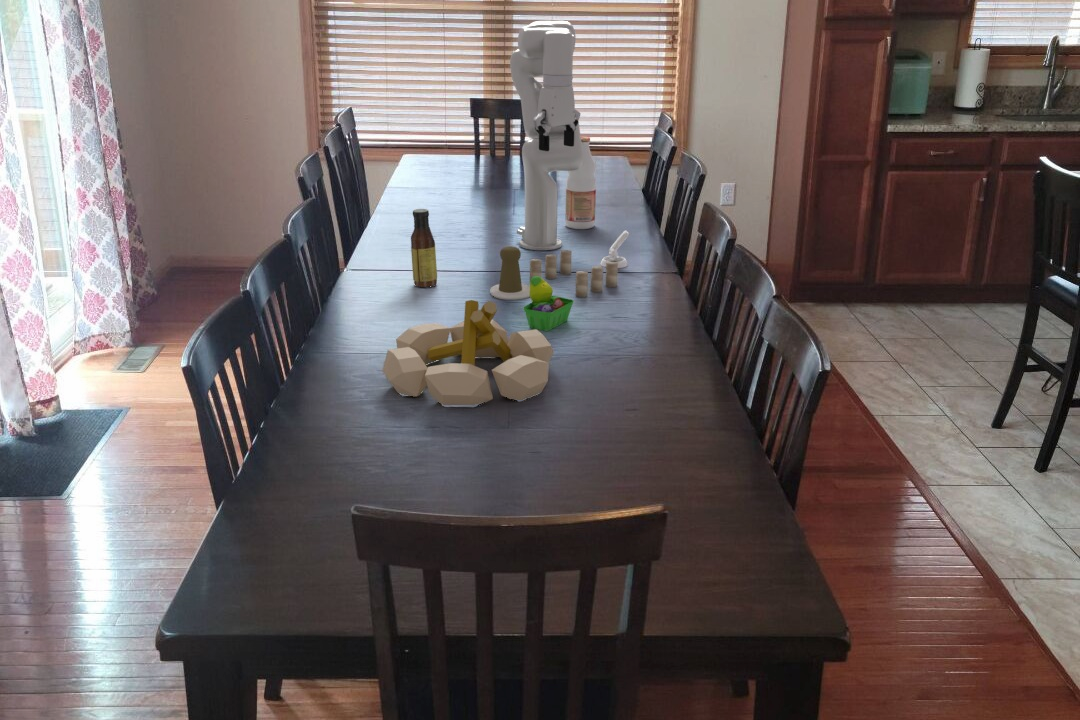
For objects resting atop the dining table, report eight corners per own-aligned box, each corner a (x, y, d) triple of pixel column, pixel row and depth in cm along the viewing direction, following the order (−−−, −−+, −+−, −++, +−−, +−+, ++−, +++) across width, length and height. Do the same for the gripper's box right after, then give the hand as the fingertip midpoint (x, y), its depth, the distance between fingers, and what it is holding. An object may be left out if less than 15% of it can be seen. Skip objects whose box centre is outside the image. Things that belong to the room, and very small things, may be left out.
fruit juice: (559, 225, 333) (560, 137, 323) (579, 221, 339) (581, 133, 329) (580, 231, 327) (582, 141, 317) (600, 226, 333) (603, 137, 323)
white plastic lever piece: (646, 250, 288) (627, 238, 285) (619, 282, 292) (600, 270, 290) (642, 238, 294) (623, 225, 291) (615, 269, 299) (596, 257, 296)
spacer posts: (527, 282, 277) (527, 260, 274) (565, 270, 287) (565, 249, 285) (582, 298, 265) (582, 275, 262) (619, 285, 275) (620, 263, 273)
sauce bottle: (441, 283, 275) (439, 209, 268) (429, 290, 270) (427, 214, 262) (420, 280, 277) (417, 206, 270) (407, 286, 272) (404, 211, 265)
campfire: (550, 416, 199) (551, 331, 192) (372, 411, 200) (367, 327, 194) (555, 350, 231) (556, 275, 225) (402, 346, 232) (399, 272, 226)
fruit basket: (549, 334, 240) (550, 287, 236) (517, 327, 244) (517, 280, 240) (574, 320, 249) (575, 274, 245) (543, 313, 253) (543, 268, 249)
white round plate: (481, 293, 268) (481, 288, 267) (511, 284, 275) (511, 279, 275) (512, 302, 261) (512, 298, 260) (542, 293, 268) (542, 288, 268)
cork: (525, 287, 269) (525, 245, 265) (517, 293, 264) (517, 251, 260) (503, 284, 271) (503, 243, 267) (495, 291, 265) (494, 249, 261)
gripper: (568, 77, 277) (567, 142, 284) (523, 82, 265) (523, 150, 272) (590, 79, 273) (588, 146, 279) (545, 85, 261) (544, 154, 267)
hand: (556, 148), depth 275 cm, fingers open, 9 cm apart
